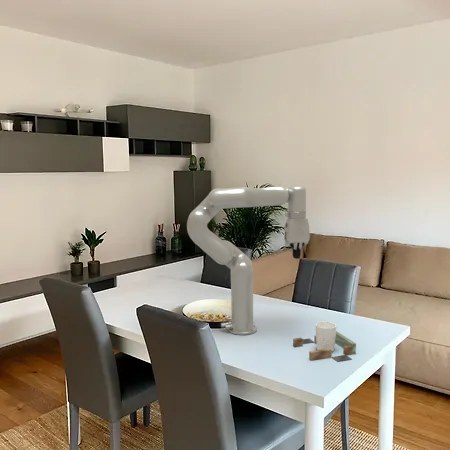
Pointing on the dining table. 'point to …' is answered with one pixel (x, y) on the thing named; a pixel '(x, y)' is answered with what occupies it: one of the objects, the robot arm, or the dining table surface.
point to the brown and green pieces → (341, 340)
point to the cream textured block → (325, 335)
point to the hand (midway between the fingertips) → (296, 258)
